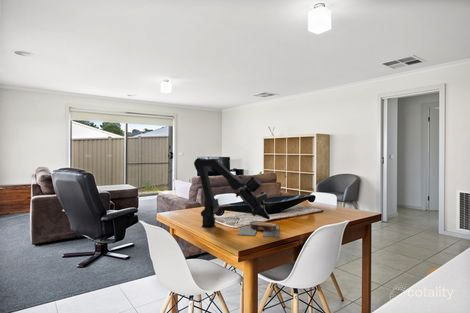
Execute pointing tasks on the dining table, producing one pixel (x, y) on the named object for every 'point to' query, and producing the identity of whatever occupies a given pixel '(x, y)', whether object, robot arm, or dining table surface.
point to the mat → (251, 232)
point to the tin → (263, 225)
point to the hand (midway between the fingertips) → (269, 218)
